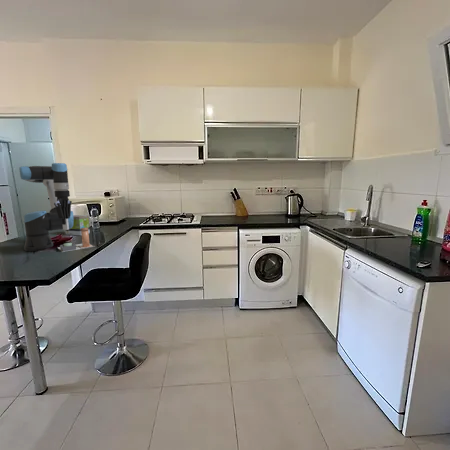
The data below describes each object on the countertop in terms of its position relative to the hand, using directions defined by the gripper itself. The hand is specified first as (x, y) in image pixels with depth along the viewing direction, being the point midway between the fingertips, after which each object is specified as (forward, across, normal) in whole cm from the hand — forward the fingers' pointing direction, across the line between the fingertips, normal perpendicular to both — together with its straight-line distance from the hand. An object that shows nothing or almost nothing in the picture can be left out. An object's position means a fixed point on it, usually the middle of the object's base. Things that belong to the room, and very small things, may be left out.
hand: (66, 229), depth 160 cm
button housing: (+13, 0, 0) cm, 13 cm away
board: (+13, +5, -2) cm, 14 cm away
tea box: (+14, +49, +24) cm, 56 cm away
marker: (+12, +7, -8) cm, 16 cm away
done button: (+11, 0, 0) cm, 11 cm away
